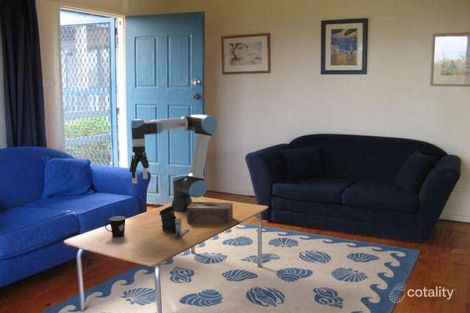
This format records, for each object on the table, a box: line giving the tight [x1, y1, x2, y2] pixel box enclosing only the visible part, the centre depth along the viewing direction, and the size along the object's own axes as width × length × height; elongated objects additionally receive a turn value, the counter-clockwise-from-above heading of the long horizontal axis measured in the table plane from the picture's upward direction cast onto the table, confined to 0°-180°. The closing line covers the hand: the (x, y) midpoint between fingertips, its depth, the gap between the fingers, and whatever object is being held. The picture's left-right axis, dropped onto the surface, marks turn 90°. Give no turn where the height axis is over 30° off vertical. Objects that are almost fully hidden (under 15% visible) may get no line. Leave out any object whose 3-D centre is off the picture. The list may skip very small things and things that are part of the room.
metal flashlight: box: [175, 217, 183, 238], centre depth 263 cm, size 3×3×10 cm
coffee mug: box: [104, 215, 126, 238], centre depth 266 cm, size 12×9×10 cm
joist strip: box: [174, 228, 190, 240], centre depth 268 cm, size 16×2×1 cm, turn 164°
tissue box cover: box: [186, 201, 234, 226], centre depth 294 cm, size 26×14×10 cm, turn 82°
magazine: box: [159, 205, 177, 235], centre depth 273 cm, size 4×13×15 cm, turn 40°
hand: (140, 180), depth 284 cm, fingers open, 13 cm apart
